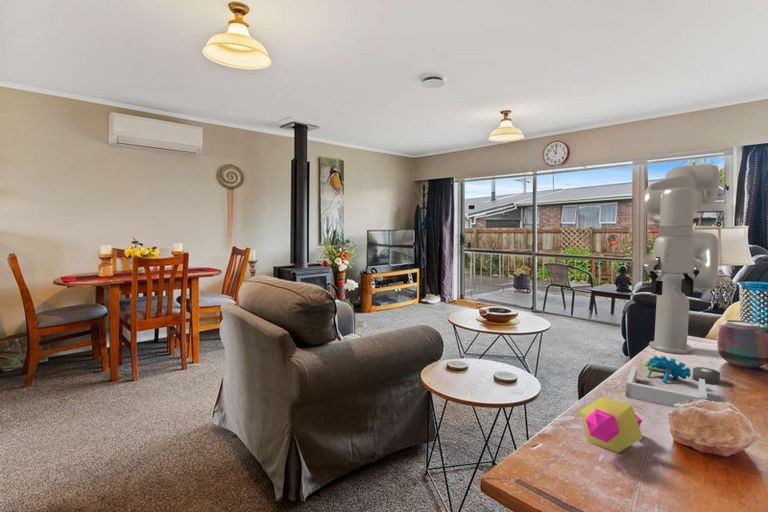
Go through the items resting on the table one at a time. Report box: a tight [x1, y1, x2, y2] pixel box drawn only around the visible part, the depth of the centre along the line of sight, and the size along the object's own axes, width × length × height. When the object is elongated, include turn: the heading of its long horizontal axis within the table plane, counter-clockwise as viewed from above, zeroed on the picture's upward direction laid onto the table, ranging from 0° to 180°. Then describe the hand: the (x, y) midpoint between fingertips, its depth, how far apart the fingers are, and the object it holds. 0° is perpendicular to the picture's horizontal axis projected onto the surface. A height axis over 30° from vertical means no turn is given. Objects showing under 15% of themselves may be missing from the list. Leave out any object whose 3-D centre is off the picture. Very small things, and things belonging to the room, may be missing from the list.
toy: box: [578, 396, 644, 453], centre depth 81 cm, size 10×18×10 cm, turn 136°
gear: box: [644, 355, 692, 384], centre depth 115 cm, size 11×6×10 cm
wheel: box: [692, 366, 721, 386], centre depth 115 cm, size 6×6×3 cm
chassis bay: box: [625, 366, 708, 407], centre depth 105 cm, size 15×16×4 cm
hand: (671, 293), depth 113 cm, fingers open, 9 cm apart
